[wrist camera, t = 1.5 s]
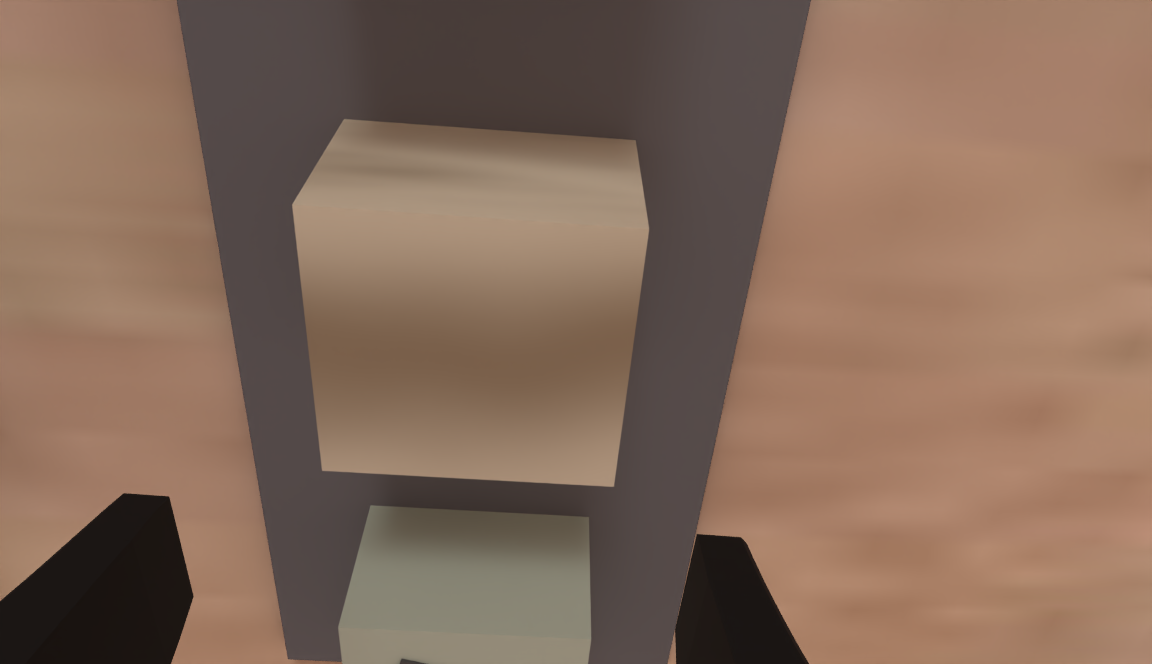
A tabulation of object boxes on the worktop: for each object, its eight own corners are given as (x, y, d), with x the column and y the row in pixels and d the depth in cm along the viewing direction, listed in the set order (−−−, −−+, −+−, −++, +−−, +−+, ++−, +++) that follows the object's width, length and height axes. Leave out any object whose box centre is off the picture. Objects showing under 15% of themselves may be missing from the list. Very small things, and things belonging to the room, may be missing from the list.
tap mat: (663, 663, 29) (664, 676, 28) (292, 645, 28) (288, 659, 28) (948, -682, 12) (961, -697, 12) (60, -785, 12) (40, -805, 11)
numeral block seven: (572, 652, 28) (572, 779, 24) (380, 643, 28) (353, 770, 24) (589, 517, 24) (591, 642, 21) (370, 505, 24) (337, 630, 21)
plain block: (607, 372, 22) (614, 486, 18) (361, 357, 21) (321, 470, 18) (635, 140, 18) (648, 229, 15) (343, 118, 18) (291, 204, 15)
